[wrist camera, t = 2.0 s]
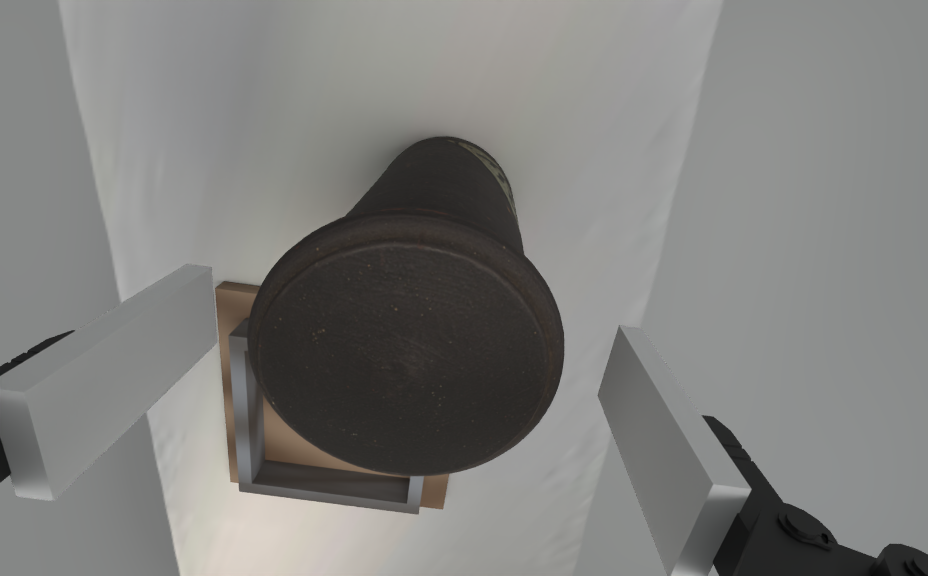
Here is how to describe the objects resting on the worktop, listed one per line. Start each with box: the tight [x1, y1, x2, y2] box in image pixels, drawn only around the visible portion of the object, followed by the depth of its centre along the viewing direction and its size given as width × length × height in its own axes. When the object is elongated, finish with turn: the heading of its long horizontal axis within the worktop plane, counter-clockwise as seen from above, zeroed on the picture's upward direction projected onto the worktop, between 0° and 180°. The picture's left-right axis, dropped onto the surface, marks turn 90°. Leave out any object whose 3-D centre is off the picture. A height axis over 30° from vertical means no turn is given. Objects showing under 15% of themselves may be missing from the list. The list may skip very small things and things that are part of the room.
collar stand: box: [215, 281, 449, 514], centre depth 35 cm, size 18×18×4 cm
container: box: [247, 137, 564, 476], centre depth 21 cm, size 9×9×20 cm
